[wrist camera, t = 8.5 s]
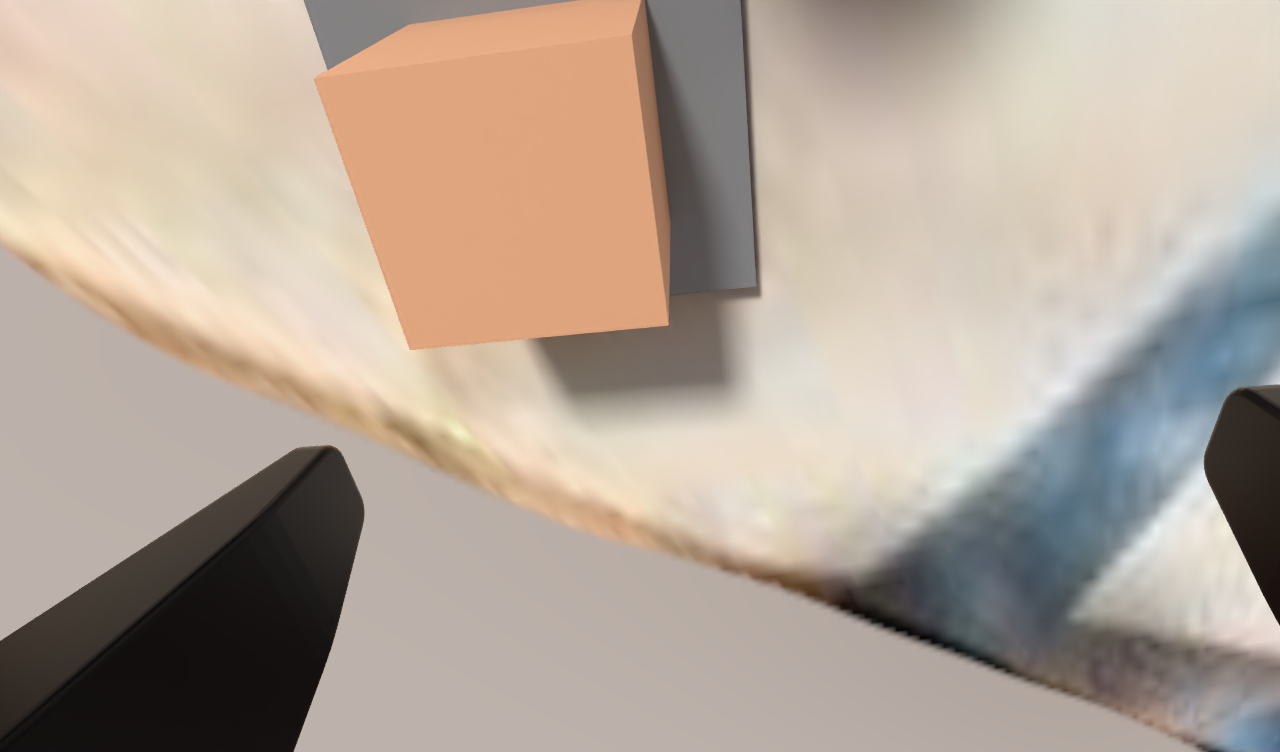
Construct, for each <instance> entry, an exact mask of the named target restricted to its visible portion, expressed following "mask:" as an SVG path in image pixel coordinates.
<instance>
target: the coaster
mask: <svg viewBox="0 0 1280 752" xmlns="http://www.w3.org/2000/svg"><path fill="white" fill-rule="evenodd" d="M570 1H577V0H304V3H305V5H306V8H307V11H308V14H309V17H310V20H311V23H312V26H313V29H314V32H315V34H316V37H317V40H318V43H319V46H320V49H321V52H322V55H323V58H324V60H325V63H326V66H327V69H328V70H329V69H331V68H333V67H335V66H336V65H338V64H340V63H342V62H343V61H345V60H347V59H349V58H351V57H352V56H354V55H356V54H358V53H359V52H361V51H363V50H365V49H367V48H368V47H370V46H372V45H374V44H375V43H377V42H379V41H381V40H382V39H384V38H386V37H388V36H390V35H391V34H393V33H395V32H397V31H398V30H400V29H402V28H404V27H406V26H407V25H410V24H417V23H424V22H430V21H437V20H444V19H451V18H458V17H465V16H472V15H479V14H486V13H493V12H500V11H507V10H514V9H521V8H528V7H535V6H542V5H549V4H556V3H563V2H570ZM645 5H646V14H647V22H648V31H649V40H650V48H651V57H652V66H653V74H654V83H655V91H656V100H657V109H658V117H659V126H660V134H661V143H662V152H663V160H664V169H665V177H666V186H667V195H668V203H669V212H670V221H671V227H670V283H669V295H679V294H689V293H699V292H709V291H718V290H728V289H738V288H748V287H756V271H755V253H754V235H753V217H752V199H751V181H750V162H749V144H748V126H747V108H746V90H745V72H744V54H743V36H742V17H741V0H645Z"/></svg>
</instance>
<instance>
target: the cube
mask: <svg viewBox="0 0 1280 752" xmlns="http://www.w3.org/2000/svg"><path fill="white" fill-rule="evenodd" d="M314 81H315V84H316V86H317V89H318V92H319V95H320V98H321V101H322V103H323V106H324V109H325V112H326V115H327V117H328V120H329V123H330V126H331V129H332V132H333V134H334V137H335V140H336V143H337V146H338V148H339V151H340V154H341V157H342V160H343V163H344V165H345V168H346V171H347V174H348V177H349V179H350V182H351V185H352V188H353V191H354V194H355V196H356V199H357V202H358V205H359V208H360V210H361V213H362V216H363V219H364V222H365V225H366V227H367V230H368V233H369V236H370V239H371V241H372V244H373V247H374V250H375V253H376V256H377V258H378V261H379V264H380V267H381V270H382V273H383V275H384V278H385V281H386V284H387V287H388V289H389V292H390V295H391V298H392V301H393V304H394V306H395V309H396V312H397V315H398V318H399V320H400V323H401V326H402V329H403V332H404V335H405V337H406V340H407V343H408V346H409V349H410V350H414V349H425V348H436V347H446V346H457V345H467V344H478V343H489V342H499V341H510V340H520V339H531V338H541V337H552V336H563V335H573V334H584V333H594V332H605V331H616V330H626V329H637V328H647V327H658V326H669V283H670V227H671V221H670V212H669V203H668V195H667V186H666V177H665V169H664V160H663V152H662V143H661V134H660V126H659V117H658V109H657V100H656V91H655V83H654V74H653V66H652V57H651V48H650V40H649V31H648V22H647V14H646V5H645V0H577V1H570V2H563V3H556V4H549V5H542V6H535V7H528V8H521V9H514V10H507V11H500V12H493V13H486V14H479V15H472V16H465V17H458V18H451V19H444V20H437V21H430V22H424V23H417V24H410V25H407V26H406V27H404V28H402V29H400V30H398V31H397V32H395V33H393V34H391V35H390V36H388V37H386V38H384V39H382V40H381V41H379V42H377V43H375V44H374V45H372V46H370V47H368V48H367V49H365V50H363V51H361V52H359V53H358V54H356V55H354V56H352V57H351V58H349V59H347V60H345V61H343V62H342V63H340V64H338V65H336V66H335V67H333V68H331V69H329V70H327V71H326V72H324V73H322V74H320V75H319V76H317V77H315V78H314Z"/></svg>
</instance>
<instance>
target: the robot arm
mask: <svg viewBox="0 0 1280 752" xmlns="http://www.w3.org/2000/svg"><path fill="white" fill-rule="evenodd" d="M1204 470H1205V474H1206V477H1207V480H1208V482H1209V484H1210V486H1211V489H1212V491H1213V493H1214V495H1215V497H1216V499H1217V501H1218V503H1219V505H1220V507H1221V509H1222V511H1223V513H1224V515H1225V517H1226V519H1227V521H1228V524H1229V526H1230V528H1231V530H1232V532H1233V534H1234V536H1235V538H1236V540H1237V542H1238V544H1239V546H1240V548H1241V550H1242V552H1243V554H1244V556H1245V558H1246V561H1247V563H1248V565H1249V567H1250V569H1251V571H1252V573H1253V575H1254V577H1255V579H1256V581H1257V583H1258V585H1259V587H1260V589H1261V591H1262V593H1263V595H1264V597H1265V599H1266V601H1267V603H1268V605H1269V607H1270V609H1271V611H1272V612H1273V614H1274V616H1275V618H1276V620H1277V622H1278V623H1279V625H1280V385H1264V386H1249V387H1240V388H1237V389H1235V390H1233V391H1232V392H1231V393H1230V394H1229V395H1228V396H1227V397H1226V399H1225V401H1224V403H1223V406H1222V408H1221V411H1220V414H1219V416H1218V419H1217V422H1216V424H1215V427H1214V430H1213V432H1212V435H1211V438H1210V440H1209V443H1208V446H1207V448H1206V451H1205V455H1204ZM363 522H364V504H363V500H362V497H361V495H360V492H359V490H358V488H357V486H356V484H355V481H354V479H353V477H352V475H351V472H350V470H349V468H348V466H347V464H346V462H345V460H344V457H343V456H342V453H341V452H340V451H339V450H338V449H337V448H336V447H333V446H329V445H325V446H309V447H300V448H296V449H294V450H292V451H291V452H289V453H288V454H286V455H285V456H283V457H282V458H280V459H279V460H277V461H275V462H274V463H272V464H271V465H269V466H268V467H266V468H265V469H263V470H262V471H260V472H259V473H257V474H255V475H254V476H252V477H251V478H249V479H248V480H246V481H245V482H243V483H242V484H240V485H239V486H237V487H236V488H234V489H233V490H231V491H230V492H228V493H227V494H225V495H223V496H222V497H220V498H219V499H217V500H216V501H214V502H213V503H211V504H210V505H208V506H207V507H205V508H204V509H202V510H200V511H199V512H197V513H196V514H194V515H193V516H191V517H190V518H188V519H187V520H185V521H184V522H182V523H181V524H179V525H177V526H176V527H174V528H173V529H171V530H170V531H168V532H167V533H165V534H164V535H162V536H160V537H159V538H158V539H156V540H154V541H153V542H151V543H150V544H148V545H147V546H145V547H144V548H142V549H141V550H139V551H138V552H136V553H134V554H133V555H131V556H130V557H128V558H127V559H125V560H124V561H122V562H121V563H119V564H118V565H116V566H114V567H113V568H111V569H110V570H108V571H107V572H106V573H104V574H102V575H101V576H99V577H98V578H96V579H95V580H93V581H91V582H90V583H88V584H87V585H85V586H84V587H82V588H81V589H79V590H78V591H76V592H75V593H73V594H72V595H70V596H69V597H67V598H66V599H64V600H62V601H61V602H59V603H58V604H56V605H55V606H53V607H52V608H50V609H49V610H47V611H46V612H44V613H43V614H41V615H39V616H38V617H36V618H35V619H33V620H32V621H30V622H29V623H27V624H26V625H24V626H23V627H21V628H19V629H18V630H16V631H15V632H13V633H12V634H10V635H9V636H7V637H6V638H4V639H3V640H1V641H0V752H294V749H295V746H296V744H297V741H298V738H299V735H300V733H301V730H302V727H303V725H304V722H305V719H306V716H307V714H308V711H309V708H310V705H311V703H312V700H313V697H314V694H315V692H316V689H317V687H318V684H319V681H320V678H321V676H322V673H323V670H324V667H325V664H326V662H327V659H328V656H329V653H330V650H331V647H332V644H333V640H334V637H335V633H336V629H337V626H338V622H339V618H340V614H341V610H342V606H343V602H344V598H345V594H346V591H347V587H348V582H349V579H350V575H351V571H352V567H353V563H354V559H355V555H356V551H357V547H358V542H359V539H360V534H361V531H362V527H363Z"/></svg>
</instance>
